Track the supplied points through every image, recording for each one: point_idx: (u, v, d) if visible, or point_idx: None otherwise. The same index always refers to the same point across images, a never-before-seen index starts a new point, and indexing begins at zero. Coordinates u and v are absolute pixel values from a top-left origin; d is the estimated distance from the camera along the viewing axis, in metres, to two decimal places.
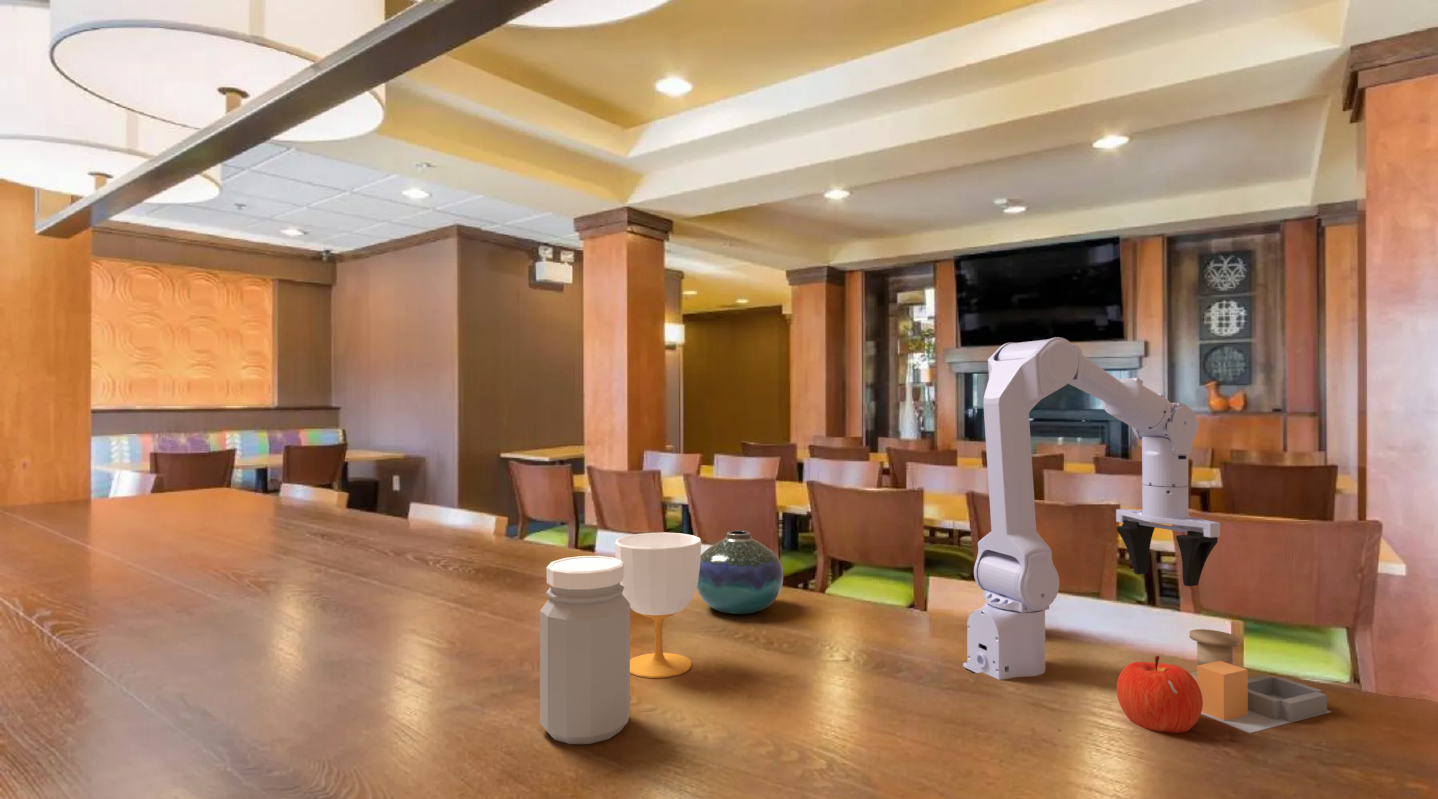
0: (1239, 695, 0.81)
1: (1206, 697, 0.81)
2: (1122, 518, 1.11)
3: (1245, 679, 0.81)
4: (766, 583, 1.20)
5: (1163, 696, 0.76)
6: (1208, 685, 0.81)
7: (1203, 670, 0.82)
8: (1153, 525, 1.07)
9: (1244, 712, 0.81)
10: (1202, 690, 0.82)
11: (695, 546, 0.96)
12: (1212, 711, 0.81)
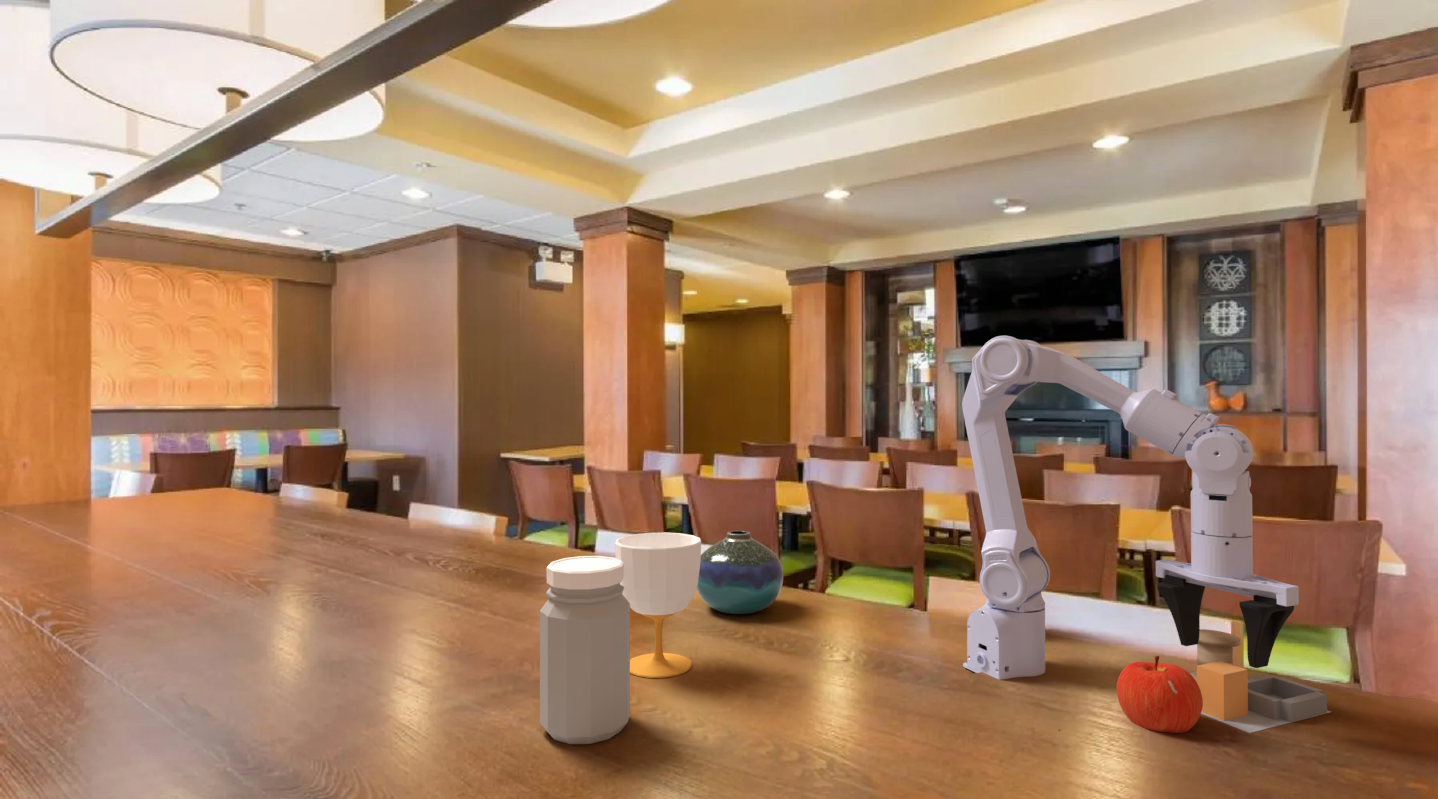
0: (1239, 695, 0.81)
1: (1206, 697, 0.81)
2: (1164, 572, 0.87)
3: (1245, 679, 0.81)
4: (766, 583, 1.20)
5: (1163, 696, 0.76)
6: (1208, 685, 0.81)
7: (1203, 670, 0.82)
8: (1205, 584, 0.83)
9: (1244, 712, 0.81)
10: (1202, 690, 0.82)
11: (695, 546, 0.96)
12: (1212, 711, 0.81)
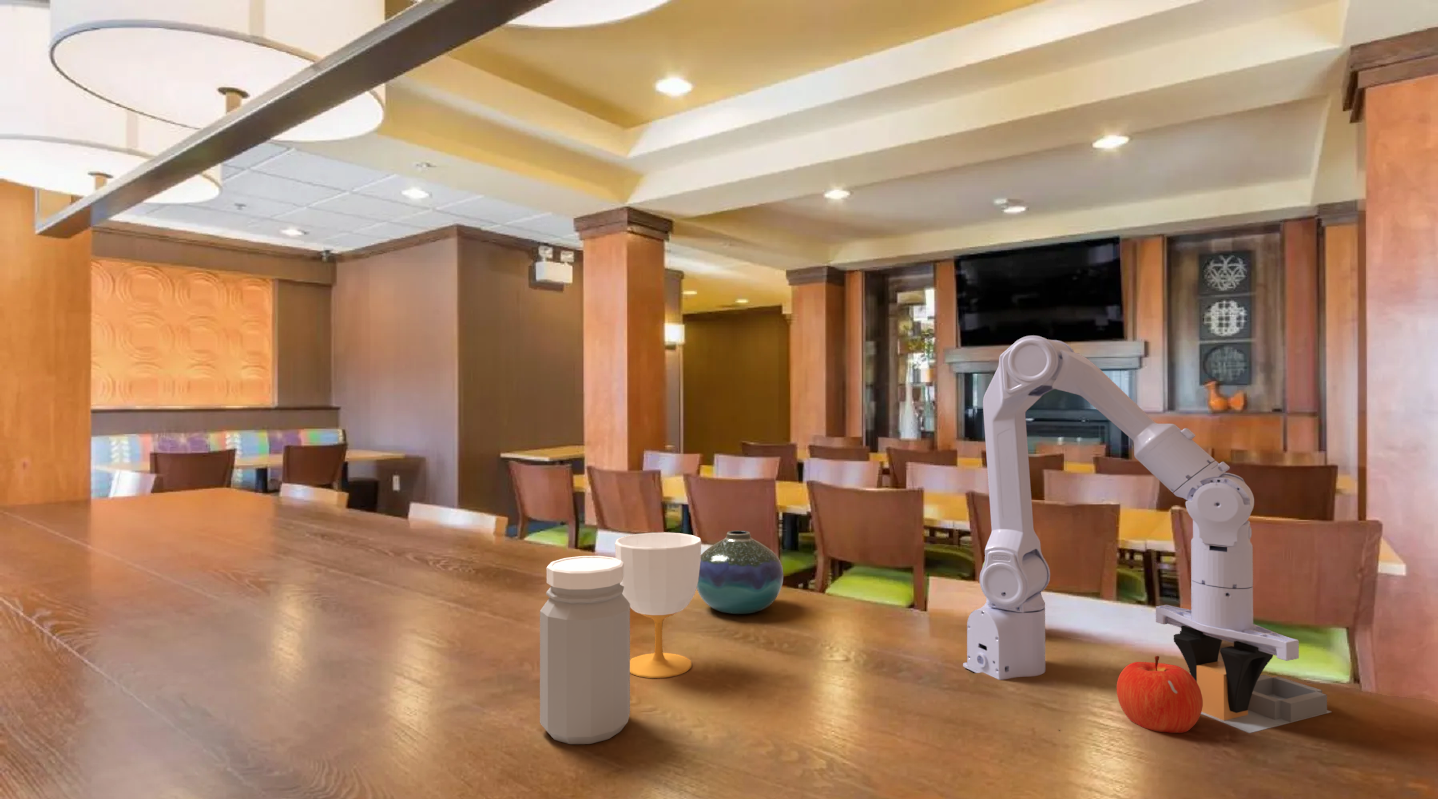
0: None
1: (1206, 697, 0.81)
2: (1164, 619, 0.87)
3: None
4: (766, 583, 1.20)
5: (1163, 696, 0.76)
6: (1208, 685, 0.81)
7: (1203, 670, 0.82)
8: (1205, 632, 0.83)
9: (1244, 712, 0.81)
10: (1202, 690, 0.82)
11: (695, 546, 0.96)
12: (1212, 711, 0.81)
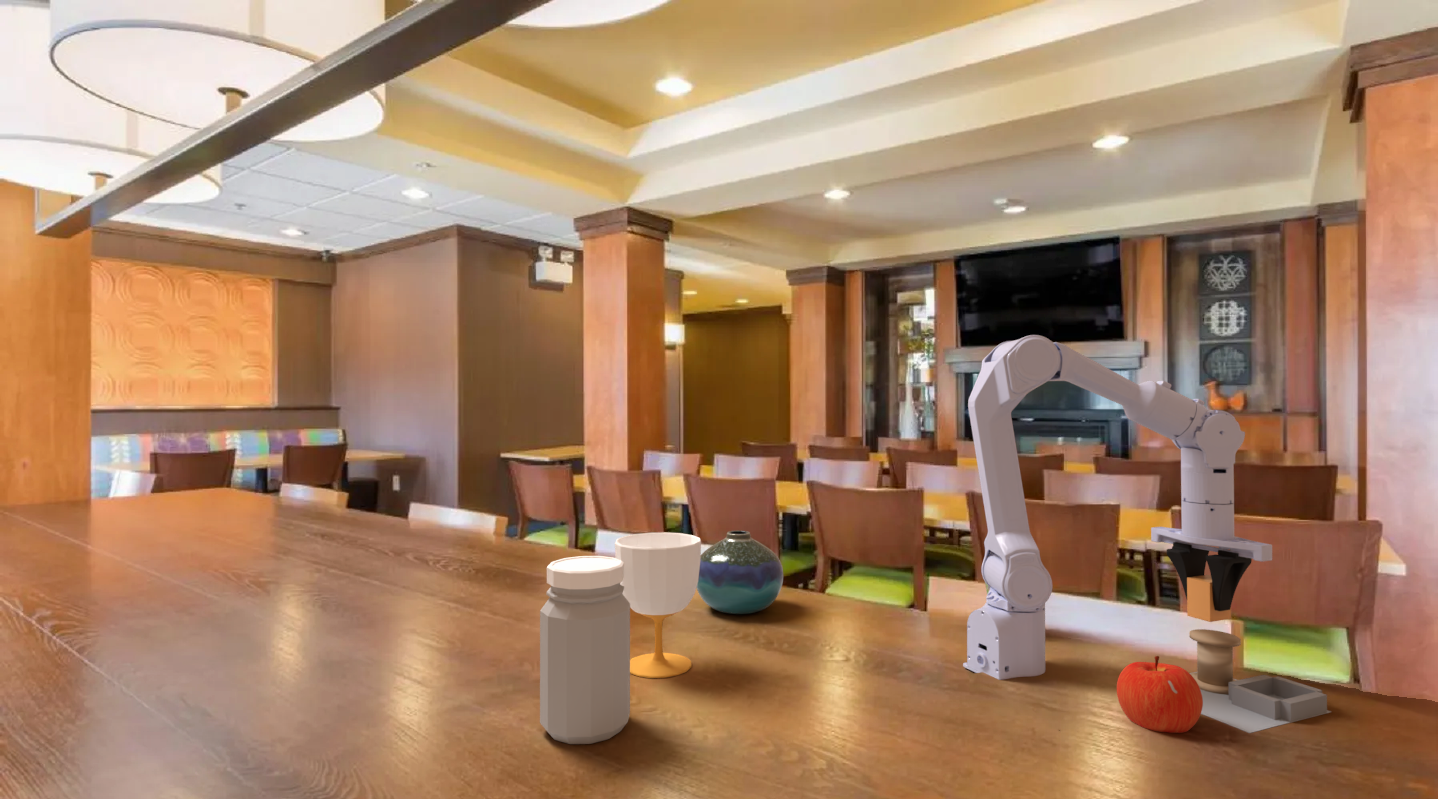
0: None
1: (1195, 604, 0.95)
2: (1158, 537, 1.00)
3: None
4: (766, 583, 1.20)
5: (1163, 696, 0.76)
6: (1197, 593, 0.94)
7: (1193, 581, 0.95)
8: (1194, 546, 0.96)
9: (1228, 616, 0.94)
10: (1192, 598, 0.95)
11: (695, 546, 0.96)
12: (1200, 615, 0.94)
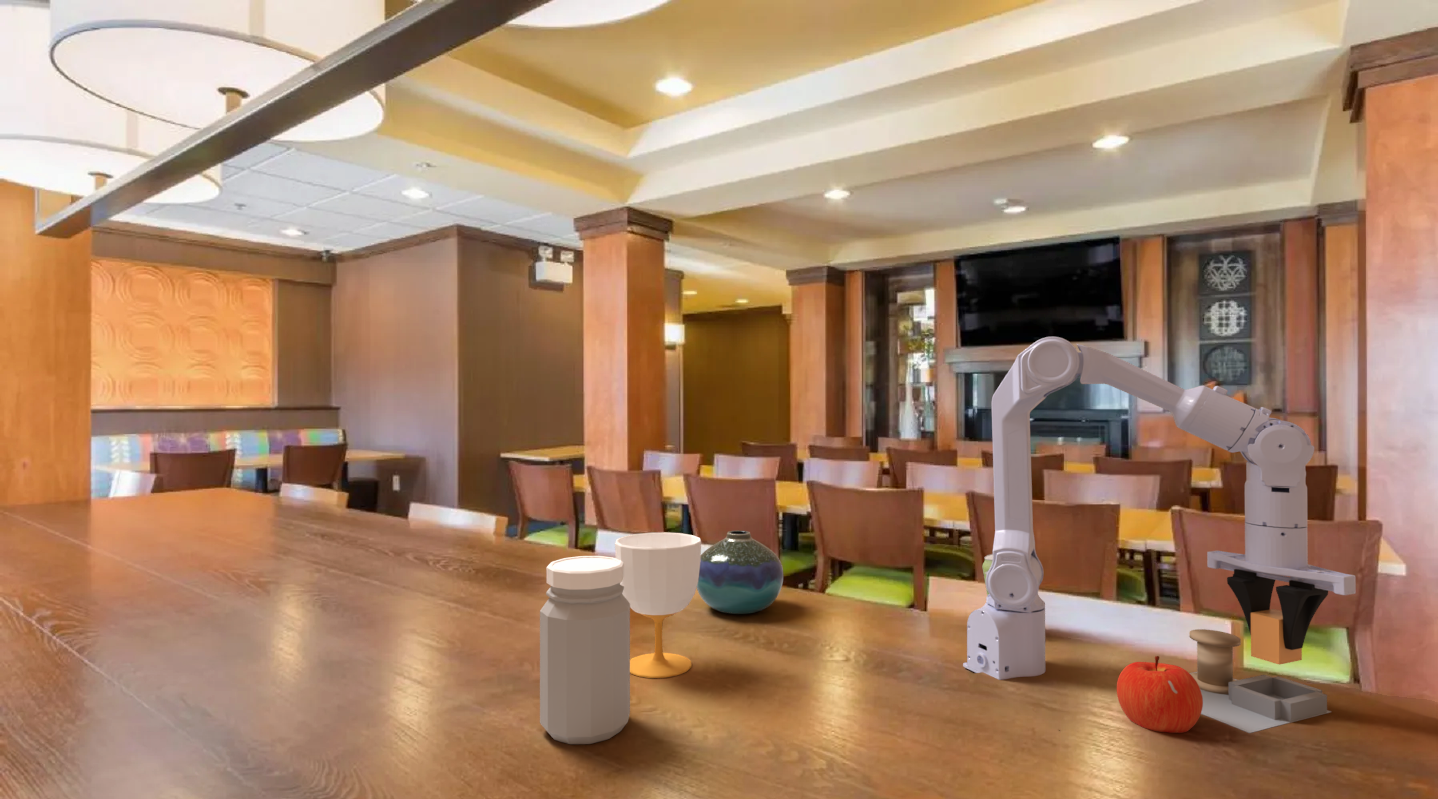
0: None
1: (1261, 643, 0.83)
2: (1216, 563, 0.89)
3: None
4: (766, 583, 1.20)
5: (1163, 696, 0.76)
6: (1263, 631, 0.83)
7: (1258, 617, 0.83)
8: (1259, 574, 0.85)
9: (1298, 657, 0.83)
10: (1256, 636, 0.84)
11: (695, 546, 0.96)
12: (1267, 656, 0.82)
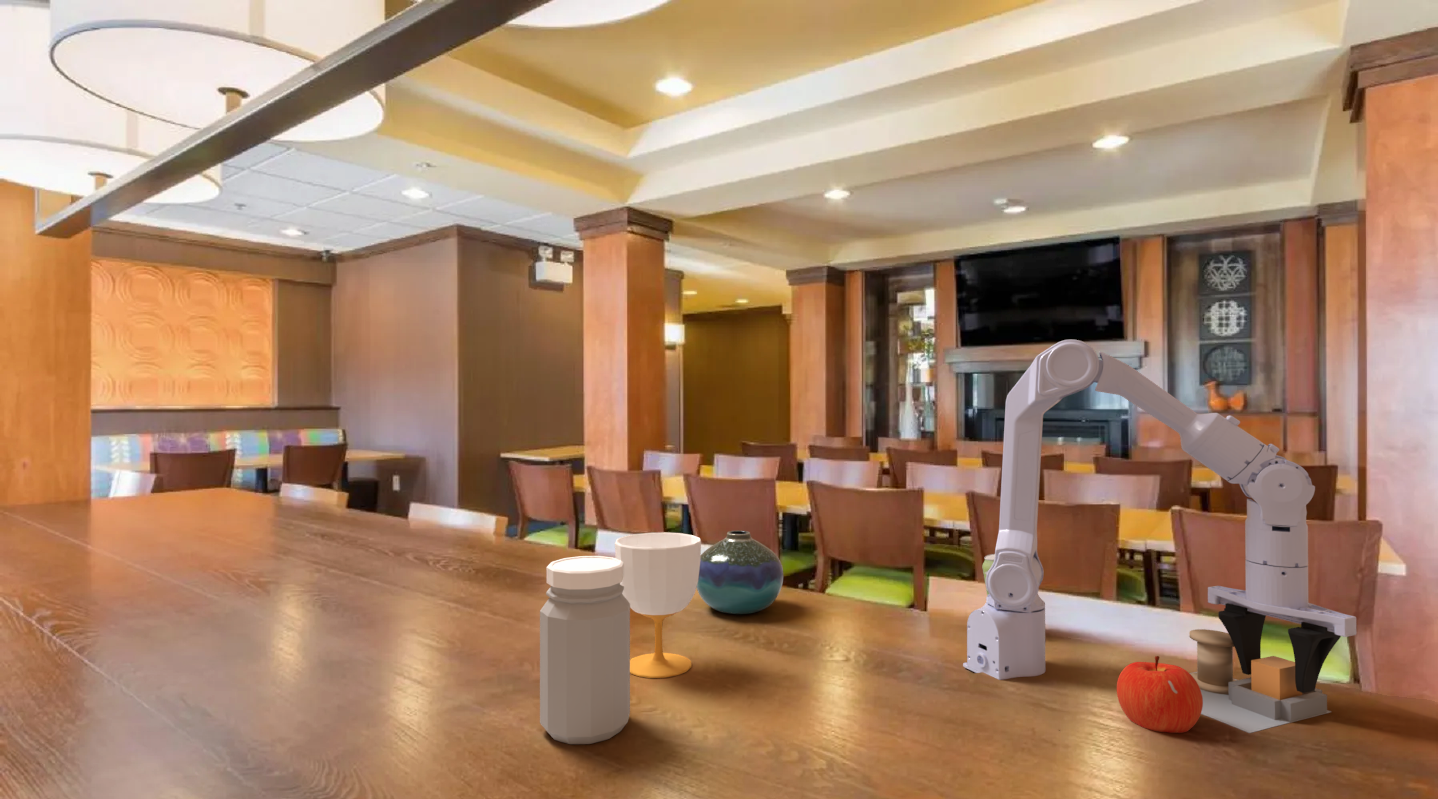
0: (1294, 689, 0.82)
1: (1261, 691, 0.83)
2: (1216, 599, 0.89)
3: None
4: (766, 583, 1.20)
5: (1163, 696, 0.76)
6: (1264, 679, 0.83)
7: (1258, 665, 0.83)
8: (1260, 611, 0.85)
9: None
10: (1257, 684, 0.84)
11: (695, 546, 0.96)
12: None
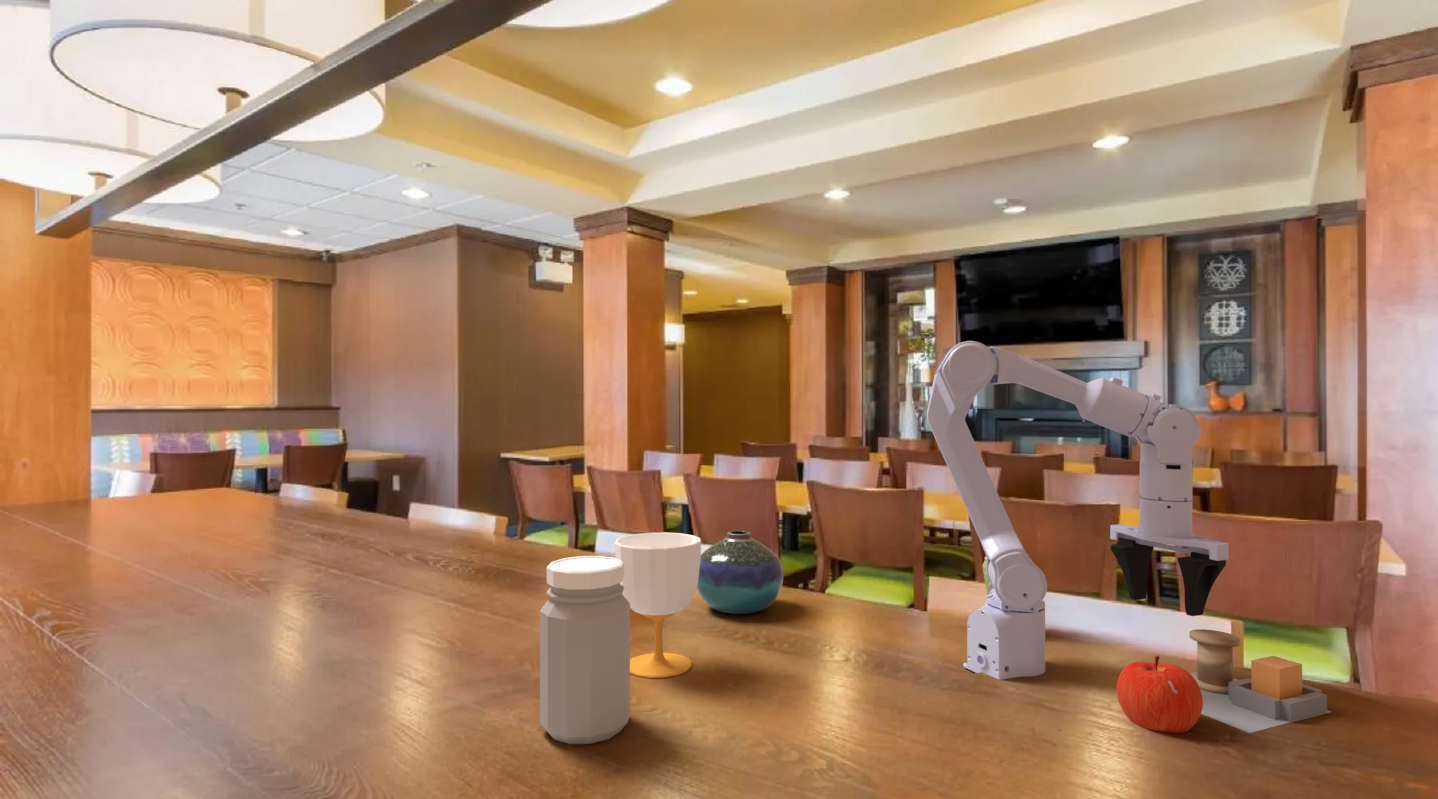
0: (1294, 689, 0.82)
1: (1261, 691, 0.83)
2: (1117, 535, 0.98)
3: (1299, 673, 0.83)
4: (766, 583, 1.20)
5: (1163, 696, 0.76)
6: (1264, 679, 0.83)
7: (1258, 665, 0.83)
8: (1152, 544, 0.94)
9: None
10: (1257, 684, 0.84)
11: (695, 546, 0.96)
12: None
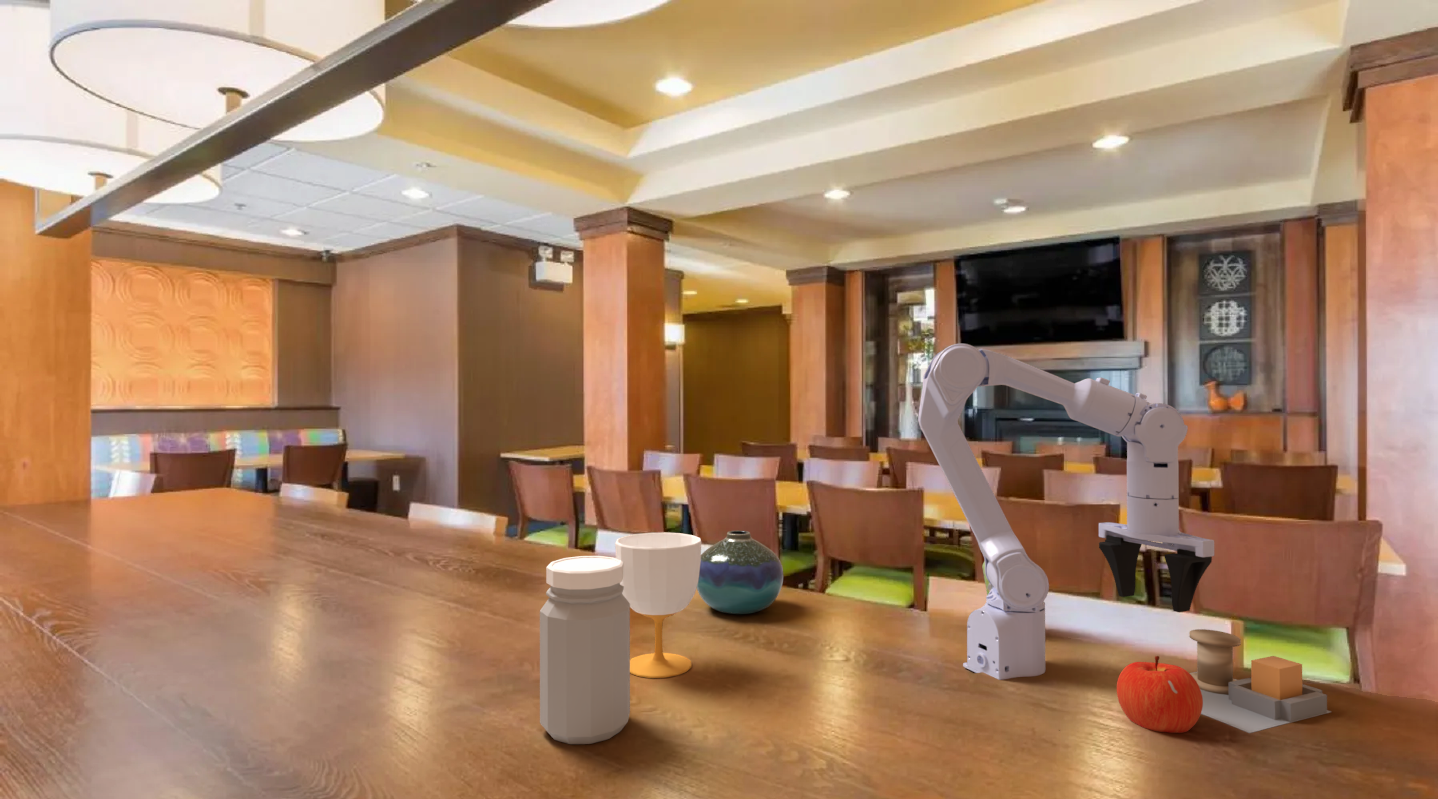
0: (1294, 689, 0.82)
1: (1261, 691, 0.83)
2: (1105, 533, 0.99)
3: (1299, 673, 0.83)
4: (766, 583, 1.20)
5: (1163, 696, 0.76)
6: (1264, 679, 0.83)
7: (1258, 665, 0.83)
8: (1139, 541, 0.95)
9: None
10: (1257, 684, 0.84)
11: (695, 546, 0.96)
12: None
